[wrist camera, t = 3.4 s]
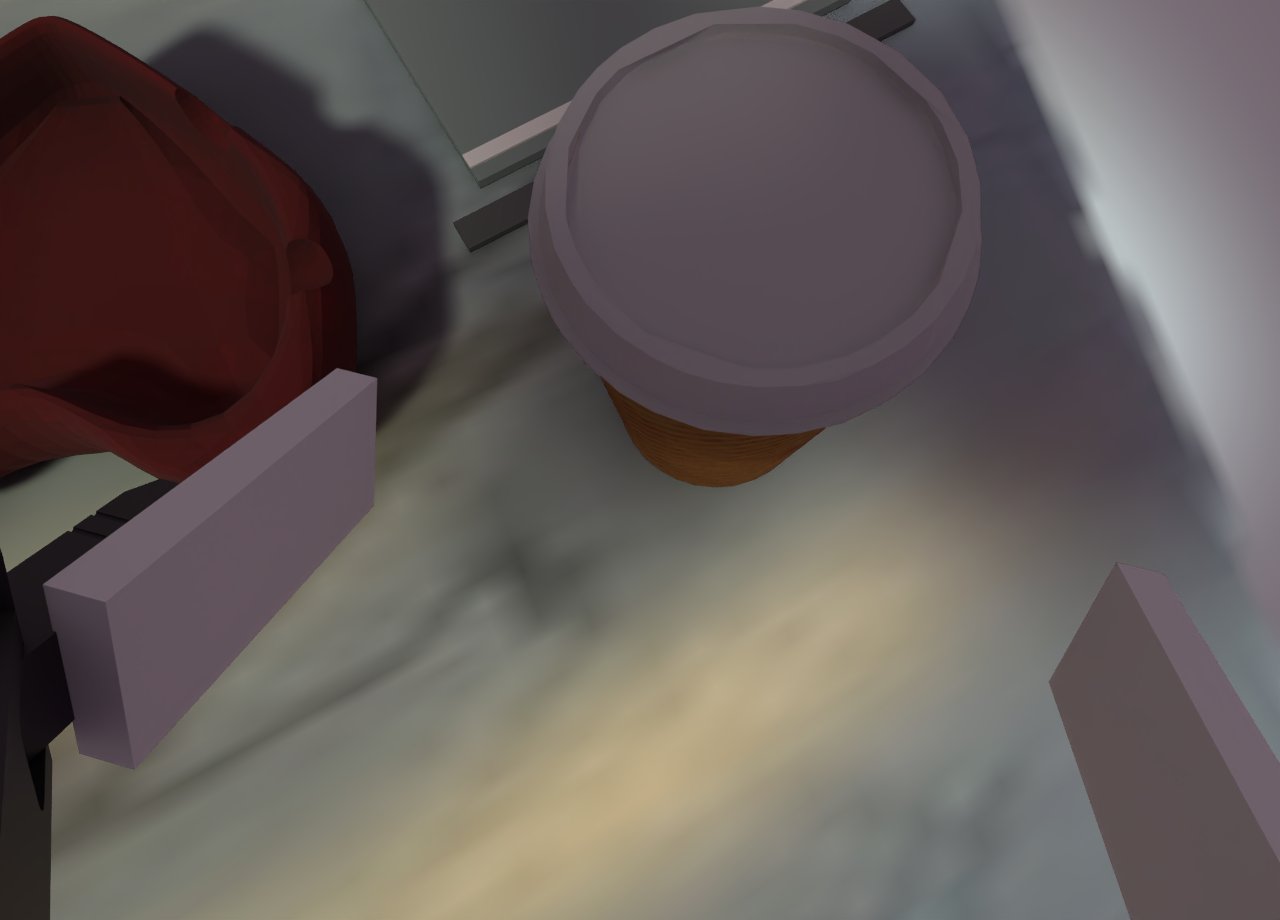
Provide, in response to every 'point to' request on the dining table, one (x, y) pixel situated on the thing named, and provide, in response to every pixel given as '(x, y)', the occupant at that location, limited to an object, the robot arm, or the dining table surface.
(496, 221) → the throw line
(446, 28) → the mat
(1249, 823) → the robot arm
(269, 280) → the ashtray
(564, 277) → the disposable coffee cup
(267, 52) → the dining table surface
